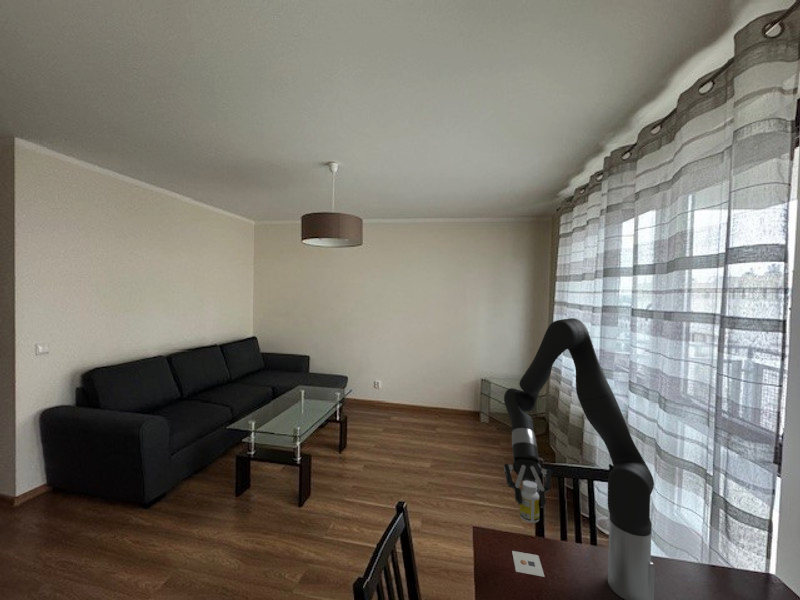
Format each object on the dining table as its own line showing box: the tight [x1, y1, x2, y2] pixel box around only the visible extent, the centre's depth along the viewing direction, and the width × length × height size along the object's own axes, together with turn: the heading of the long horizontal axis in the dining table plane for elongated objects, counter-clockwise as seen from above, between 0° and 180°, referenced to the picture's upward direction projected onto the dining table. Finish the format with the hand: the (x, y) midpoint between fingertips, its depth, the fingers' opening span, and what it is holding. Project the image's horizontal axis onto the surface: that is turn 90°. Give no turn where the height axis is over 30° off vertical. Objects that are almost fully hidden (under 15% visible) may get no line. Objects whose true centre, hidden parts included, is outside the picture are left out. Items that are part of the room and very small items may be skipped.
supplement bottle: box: [519, 480, 540, 524], centre depth 96 cm, size 5×5×10 cm
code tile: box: [511, 550, 546, 578], centre depth 96 cm, size 8×8×1 cm
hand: (530, 505), depth 94 cm, fingers closed on supplement bottle, 5 cm apart
